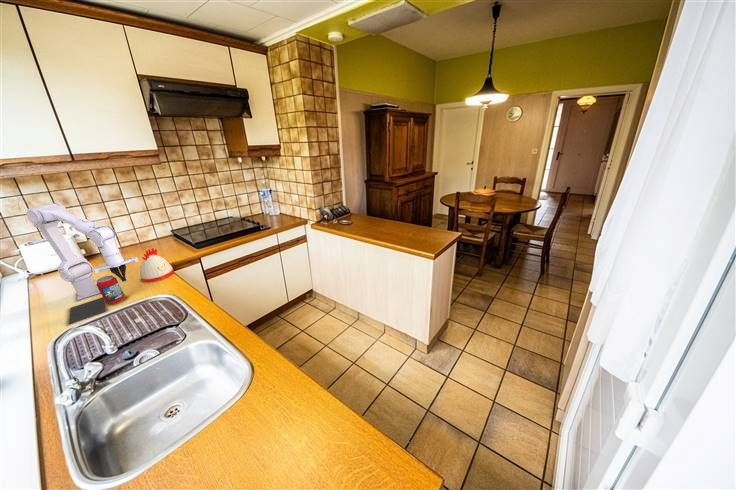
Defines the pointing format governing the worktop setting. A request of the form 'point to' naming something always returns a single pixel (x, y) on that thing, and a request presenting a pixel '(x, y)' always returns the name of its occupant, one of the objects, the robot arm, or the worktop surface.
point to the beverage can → (110, 290)
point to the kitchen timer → (154, 267)
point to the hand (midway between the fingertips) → (124, 280)
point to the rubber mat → (87, 310)
